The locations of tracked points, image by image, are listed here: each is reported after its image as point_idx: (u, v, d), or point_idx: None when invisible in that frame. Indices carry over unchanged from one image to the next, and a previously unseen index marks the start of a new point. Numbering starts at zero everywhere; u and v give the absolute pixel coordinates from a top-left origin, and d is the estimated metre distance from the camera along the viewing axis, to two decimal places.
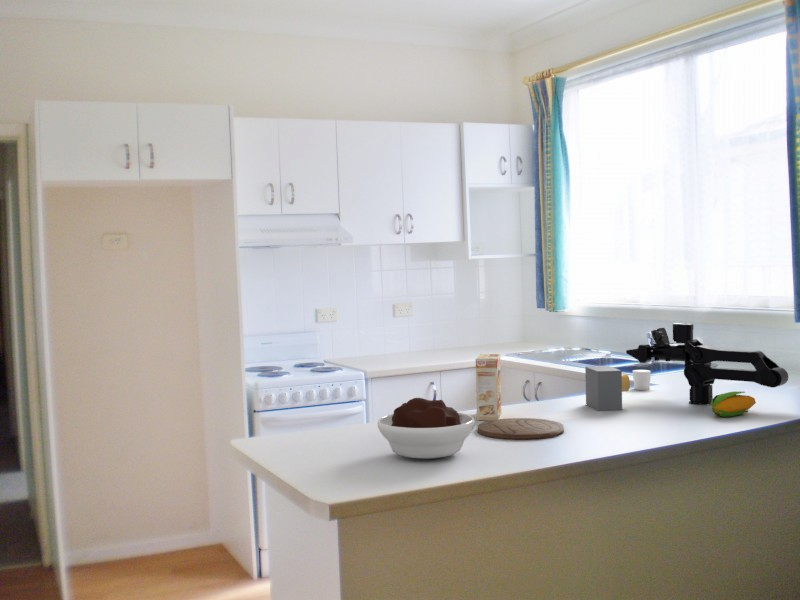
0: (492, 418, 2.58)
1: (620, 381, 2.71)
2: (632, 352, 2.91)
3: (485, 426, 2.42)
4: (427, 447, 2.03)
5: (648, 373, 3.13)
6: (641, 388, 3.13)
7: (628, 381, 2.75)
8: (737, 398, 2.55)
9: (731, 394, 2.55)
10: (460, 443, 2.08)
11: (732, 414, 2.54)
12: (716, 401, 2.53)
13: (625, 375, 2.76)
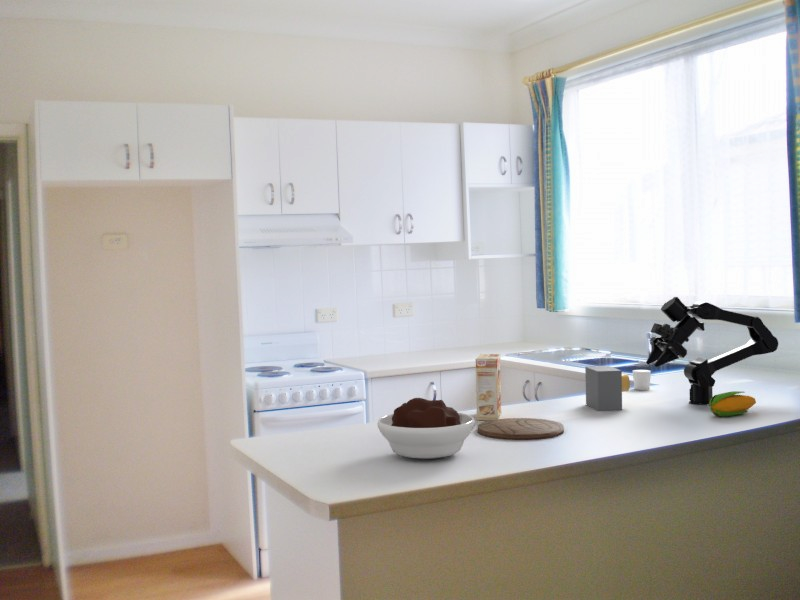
0: (492, 418, 2.58)
1: (620, 381, 2.71)
2: (662, 360, 2.74)
3: (485, 426, 2.42)
4: (427, 447, 2.03)
5: (648, 373, 3.13)
6: (641, 388, 3.13)
7: (628, 381, 2.75)
8: (736, 398, 2.56)
9: (730, 394, 2.55)
10: (460, 443, 2.08)
11: (730, 414, 2.54)
12: (714, 401, 2.54)
13: (625, 375, 2.76)
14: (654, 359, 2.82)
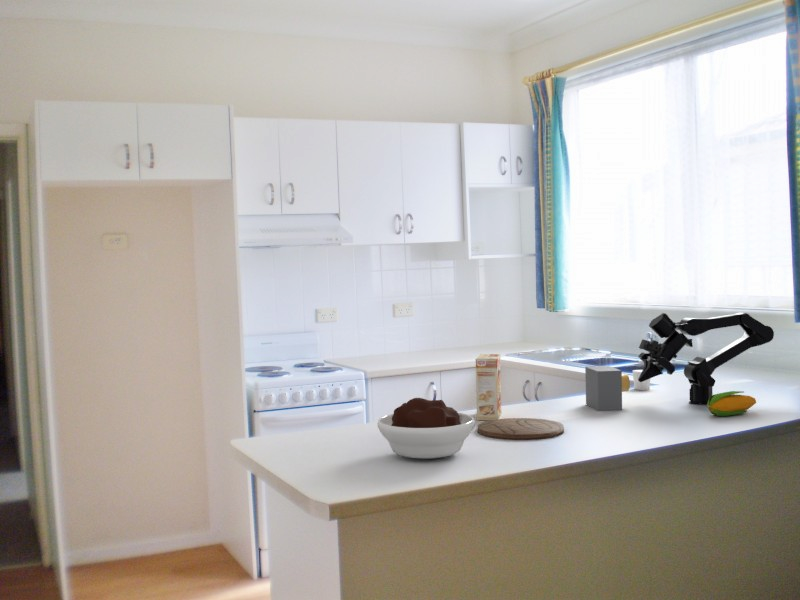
0: (492, 418, 2.58)
1: (620, 381, 2.71)
2: (646, 375, 2.77)
3: (485, 426, 2.42)
4: (427, 447, 2.03)
5: None
6: (641, 388, 3.13)
7: (628, 381, 2.75)
8: (735, 398, 2.56)
9: (728, 394, 2.56)
10: (460, 443, 2.08)
11: (729, 413, 2.55)
12: (712, 400, 2.54)
13: (625, 375, 2.76)
14: None
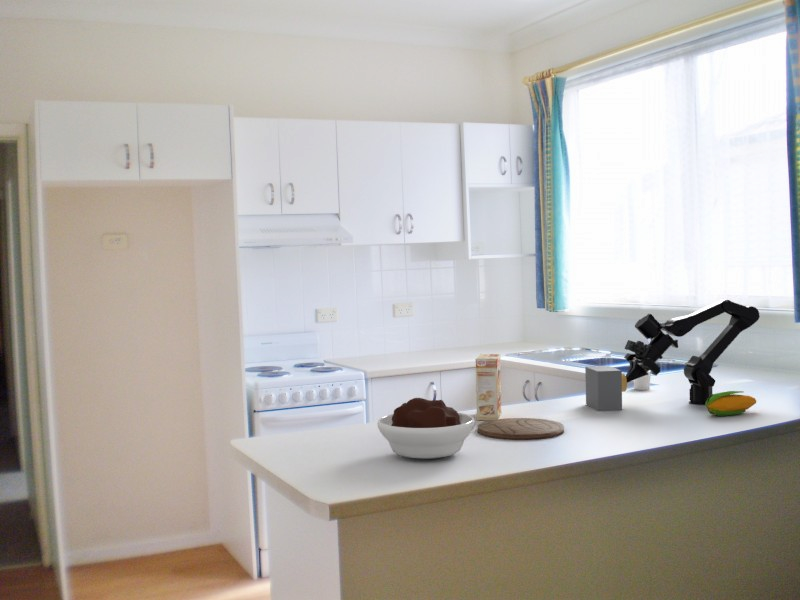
0: (492, 418, 2.58)
1: (620, 381, 2.71)
2: (632, 376, 2.76)
3: (485, 426, 2.42)
4: (427, 447, 2.03)
5: (648, 373, 3.13)
6: (641, 388, 3.13)
7: (625, 381, 2.75)
8: (733, 398, 2.56)
9: (727, 393, 2.56)
10: (460, 443, 2.08)
11: (727, 413, 2.55)
12: (710, 400, 2.55)
13: (622, 375, 2.76)
14: None
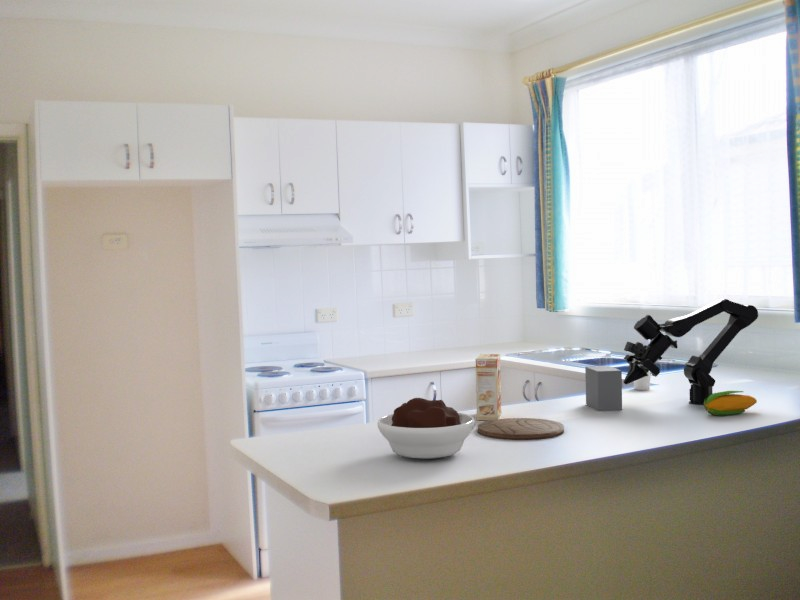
0: (492, 418, 2.58)
1: (620, 381, 2.71)
2: (631, 377, 2.76)
3: (485, 426, 2.42)
4: (427, 447, 2.03)
5: (648, 373, 3.13)
6: (641, 388, 3.13)
7: None
8: (732, 397, 2.57)
9: (725, 393, 2.57)
10: (460, 443, 2.08)
11: (725, 413, 2.56)
12: (708, 399, 2.56)
13: None
14: None
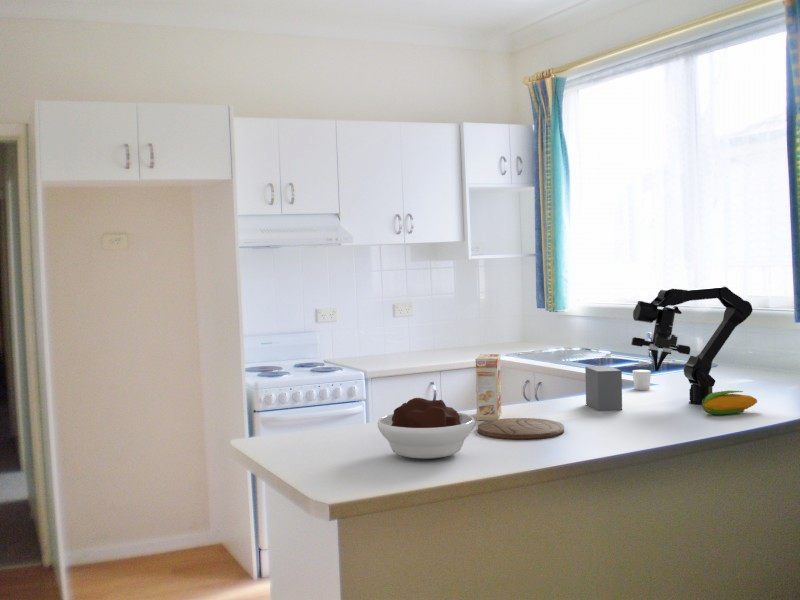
0: (492, 418, 2.58)
1: (620, 381, 2.71)
2: None
3: (485, 426, 2.42)
4: (427, 447, 2.03)
5: (648, 373, 3.13)
6: (641, 388, 3.13)
7: None
8: (730, 397, 2.58)
9: (723, 393, 2.58)
10: (460, 443, 2.08)
11: (723, 412, 2.57)
12: (706, 399, 2.57)
13: None
14: None
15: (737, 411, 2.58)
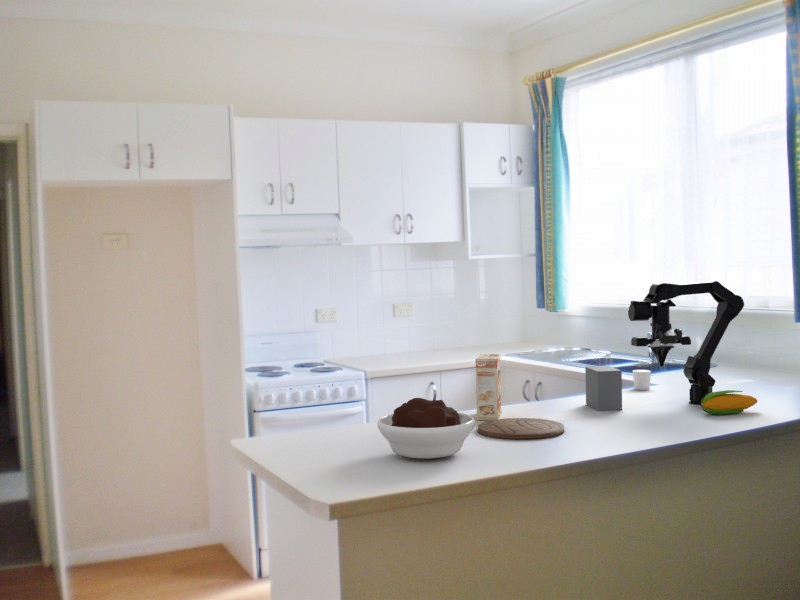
0: (492, 418, 2.58)
1: (620, 381, 2.71)
2: None
3: (485, 426, 2.42)
4: (427, 447, 2.03)
5: (648, 373, 3.13)
6: (641, 388, 3.13)
7: None
8: (729, 397, 2.58)
9: (722, 392, 2.58)
10: (460, 443, 2.08)
11: (722, 412, 2.57)
12: (704, 398, 2.58)
13: None
14: None
15: (736, 411, 2.58)
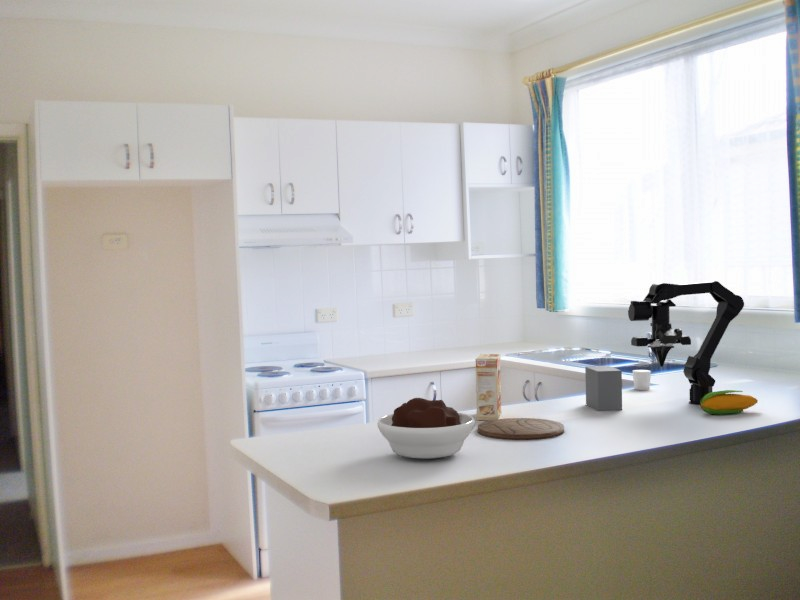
0: (492, 418, 2.58)
1: (620, 381, 2.71)
2: None
3: (485, 426, 2.42)
4: (427, 447, 2.03)
5: (648, 373, 3.13)
6: (641, 388, 3.13)
7: None
8: (729, 397, 2.58)
9: (721, 392, 2.58)
10: (460, 443, 2.08)
11: (721, 412, 2.58)
12: (704, 398, 2.59)
13: None
14: None
15: (736, 411, 2.59)
